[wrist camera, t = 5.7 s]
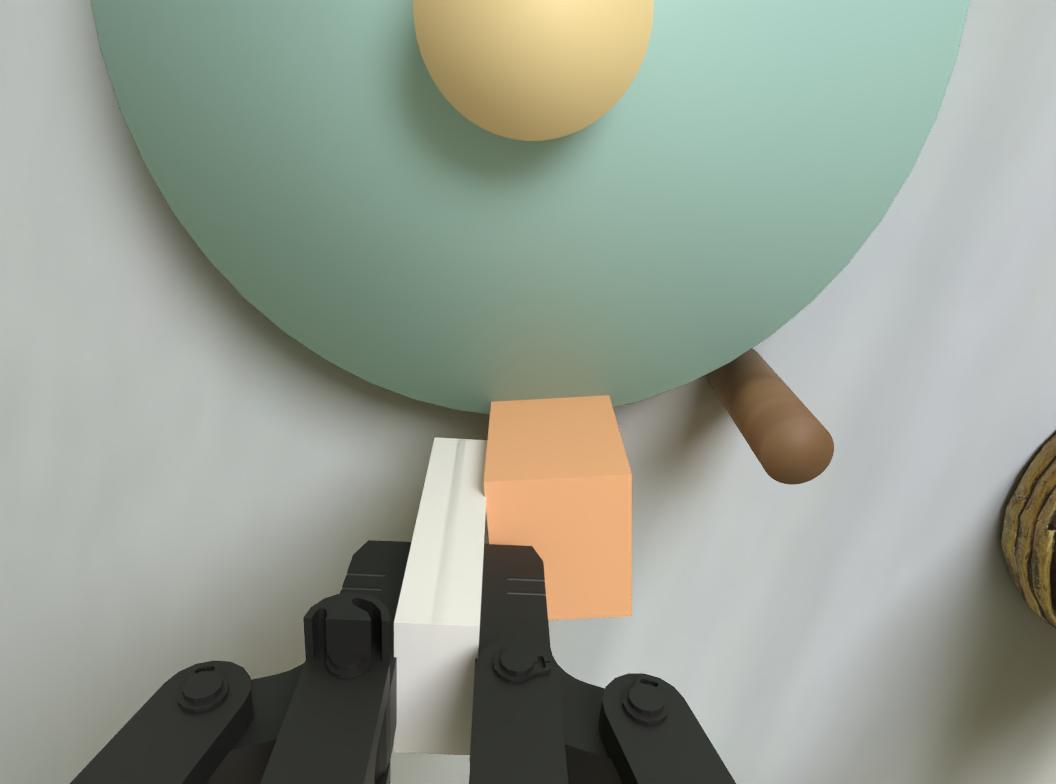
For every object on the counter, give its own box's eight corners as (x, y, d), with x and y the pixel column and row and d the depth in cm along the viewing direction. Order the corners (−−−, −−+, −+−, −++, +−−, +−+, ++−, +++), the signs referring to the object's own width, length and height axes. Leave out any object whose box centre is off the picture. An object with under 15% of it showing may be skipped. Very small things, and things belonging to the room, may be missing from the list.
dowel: (696, 381, 21) (747, 466, 16) (727, 335, 20) (789, 409, 15) (742, 405, 21) (805, 494, 16) (774, 359, 20) (848, 439, 16)
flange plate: (245, 511, 21) (161, 639, 16) (-14, -522, 12) (-355, -909, 8) (866, 478, 20) (972, 598, 16) (1030, -599, 12) (1365, -1051, 7)
